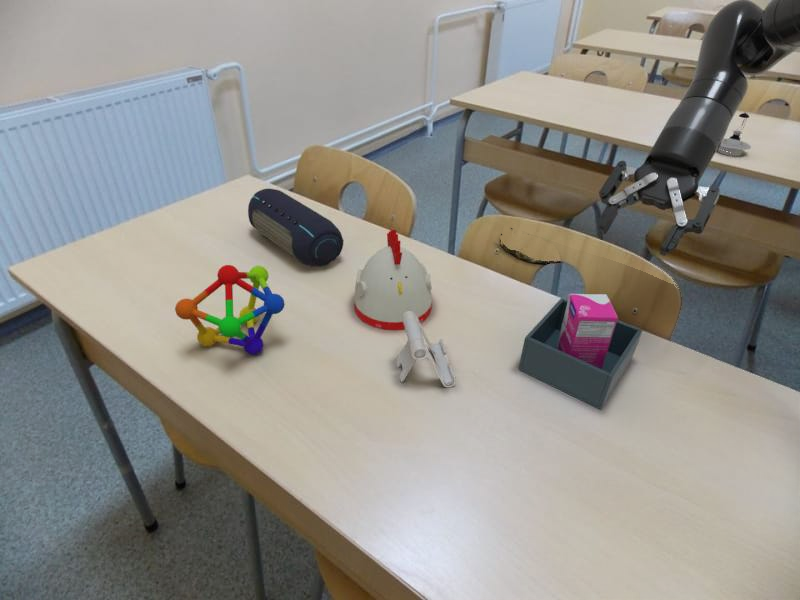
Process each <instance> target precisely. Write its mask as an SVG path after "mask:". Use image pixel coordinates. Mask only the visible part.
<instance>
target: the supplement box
mask: <svg viewBox="0 0 800 600" xmlns="http://www.w3.org/2000/svg"><path fill="white" fill-rule="evenodd" d="M567 300H568V303H567V307H566V311H565V315H564V319H563V323H562V327H561V331H560V335H559V339H558V343H557V347H556V349H557V350H560V351H562V352H564V353H566V354H568V355H571V356H573V357H575V358H577V359H580V360H582V361H584V362H586V363H589V364H591V365H593V366H595V367H597V368H600V369H602V366H603V363H604V360H605V357H606V354H607V351H608V347H609V344H610V341H611V338H612V335H613V332H614V329H615V326H616V323H617V320H619V317H618V314H617V313H616V310H615V309H614V306H613V304H612V302H611V300H610V298H609V296H608V294H605V293H603V294H601V293H599V294H598V293H596V294H595V293H593V294H592V293H591V294H590V293H588V294H587V293H569V295H568V299H567Z"/></svg>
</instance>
